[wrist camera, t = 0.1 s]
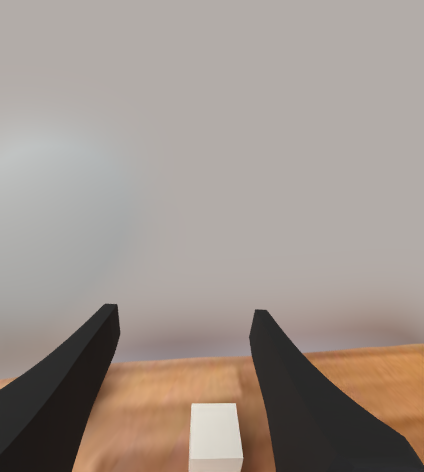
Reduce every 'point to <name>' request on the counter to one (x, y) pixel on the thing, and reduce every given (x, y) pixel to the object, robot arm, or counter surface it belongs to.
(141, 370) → the counter surface
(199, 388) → the counter surface
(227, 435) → the cream block
